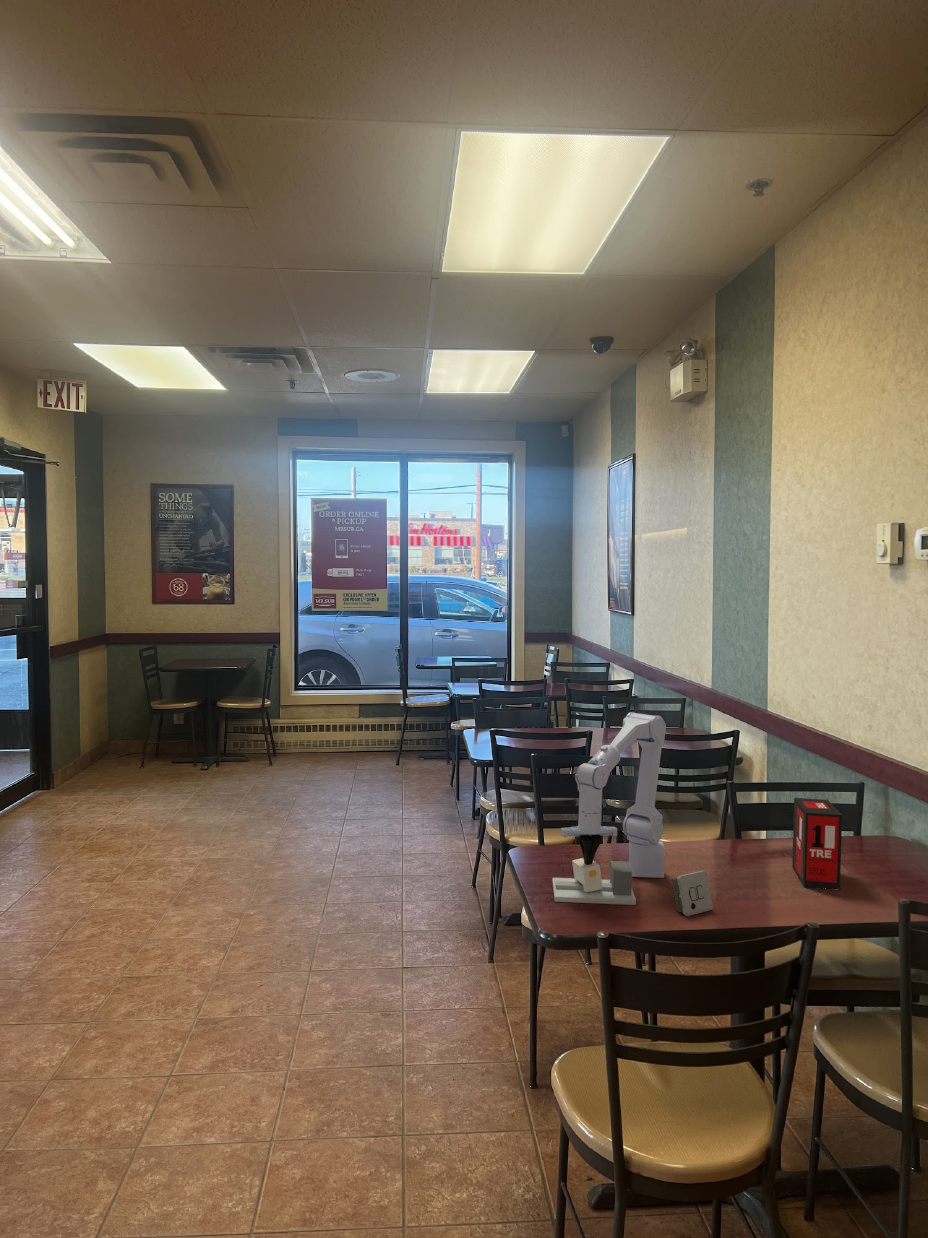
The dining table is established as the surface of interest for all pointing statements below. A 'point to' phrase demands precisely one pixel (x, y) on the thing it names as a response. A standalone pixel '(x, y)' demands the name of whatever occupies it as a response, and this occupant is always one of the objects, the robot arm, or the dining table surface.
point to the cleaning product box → (817, 843)
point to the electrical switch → (692, 893)
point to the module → (587, 875)
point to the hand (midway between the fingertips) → (588, 864)
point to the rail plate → (612, 892)
